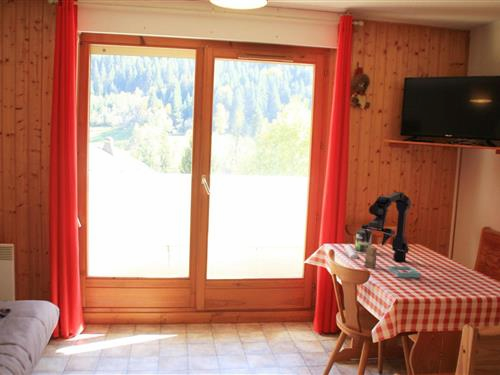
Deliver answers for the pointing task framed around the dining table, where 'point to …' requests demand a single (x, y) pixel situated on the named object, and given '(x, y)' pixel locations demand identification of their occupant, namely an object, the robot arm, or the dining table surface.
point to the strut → (370, 257)
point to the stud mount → (370, 268)
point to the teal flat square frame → (405, 275)
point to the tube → (350, 251)
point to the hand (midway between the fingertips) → (374, 244)
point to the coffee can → (362, 242)
